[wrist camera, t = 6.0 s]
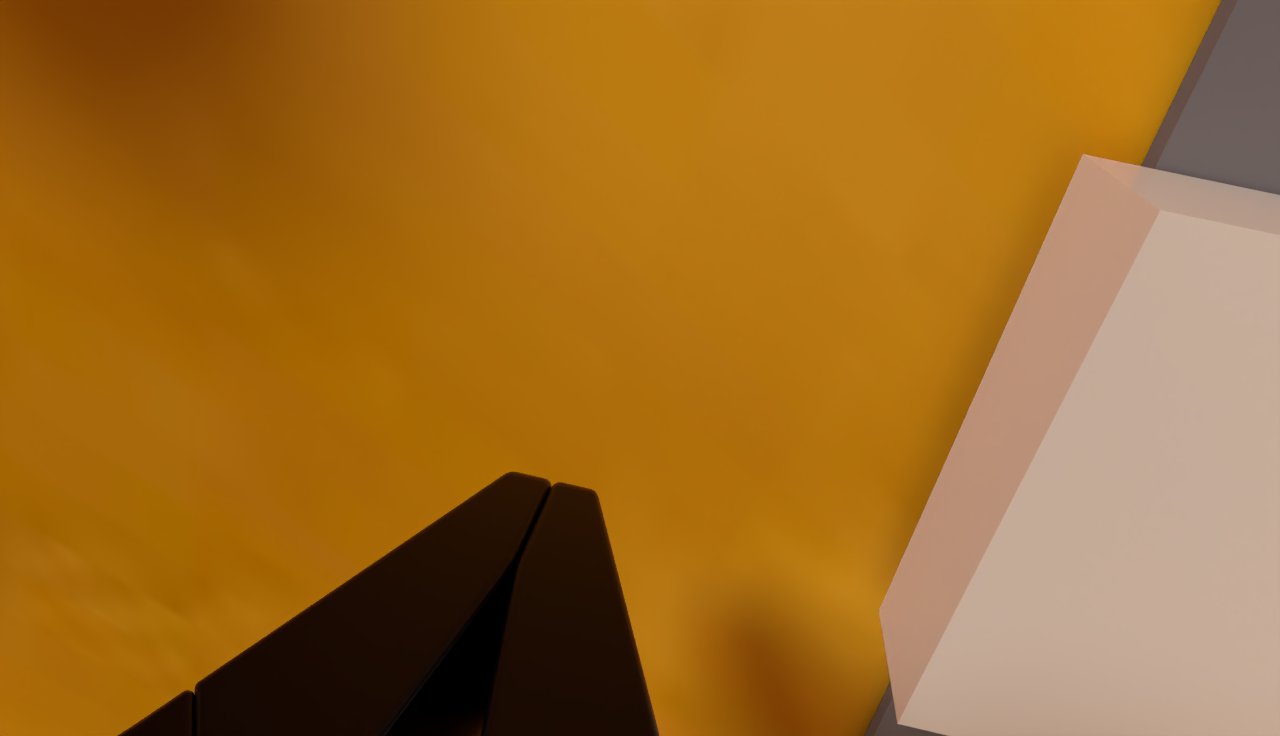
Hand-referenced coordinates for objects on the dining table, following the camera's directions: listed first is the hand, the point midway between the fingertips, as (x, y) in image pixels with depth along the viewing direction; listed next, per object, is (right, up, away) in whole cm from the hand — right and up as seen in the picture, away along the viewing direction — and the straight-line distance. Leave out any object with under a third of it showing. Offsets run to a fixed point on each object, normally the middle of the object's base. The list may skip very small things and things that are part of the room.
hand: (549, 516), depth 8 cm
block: (+5, 0, +2) cm, 5 cm away
